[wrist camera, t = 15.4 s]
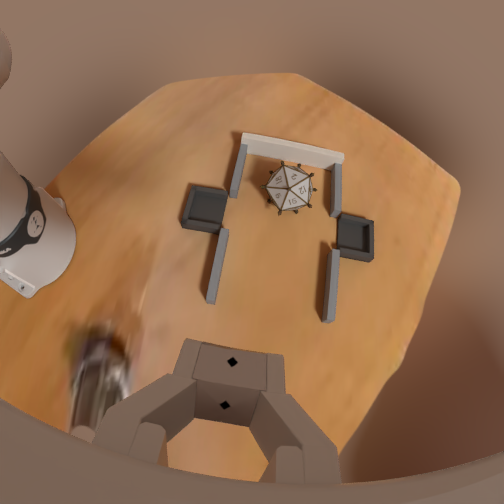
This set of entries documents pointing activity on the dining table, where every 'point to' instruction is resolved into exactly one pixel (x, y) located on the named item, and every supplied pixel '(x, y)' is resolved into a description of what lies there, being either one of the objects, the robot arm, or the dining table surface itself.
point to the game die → (289, 188)
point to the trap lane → (349, 227)
